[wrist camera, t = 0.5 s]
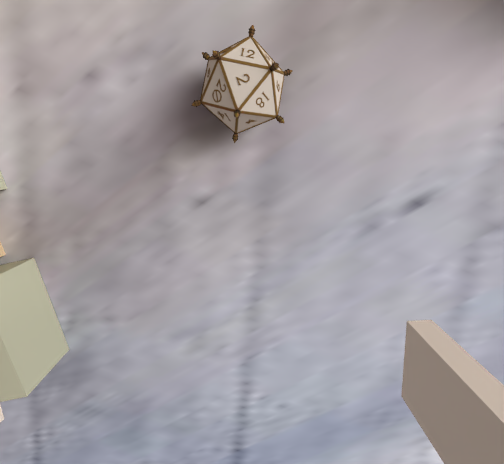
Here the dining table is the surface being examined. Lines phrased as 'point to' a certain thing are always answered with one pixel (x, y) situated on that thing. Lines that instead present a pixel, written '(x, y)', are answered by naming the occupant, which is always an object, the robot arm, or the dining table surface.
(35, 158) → the dining table surface
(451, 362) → the robot arm
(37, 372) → the pale green split block
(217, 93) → the game die
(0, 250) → the maple block
